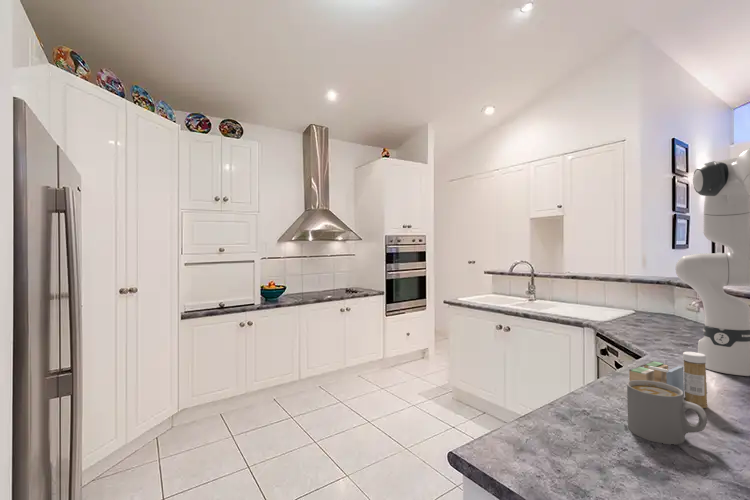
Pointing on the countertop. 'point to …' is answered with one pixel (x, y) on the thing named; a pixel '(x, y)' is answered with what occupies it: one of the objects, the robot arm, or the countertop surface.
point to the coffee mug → (660, 412)
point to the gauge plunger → (673, 376)
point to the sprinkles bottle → (695, 378)
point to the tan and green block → (649, 372)
